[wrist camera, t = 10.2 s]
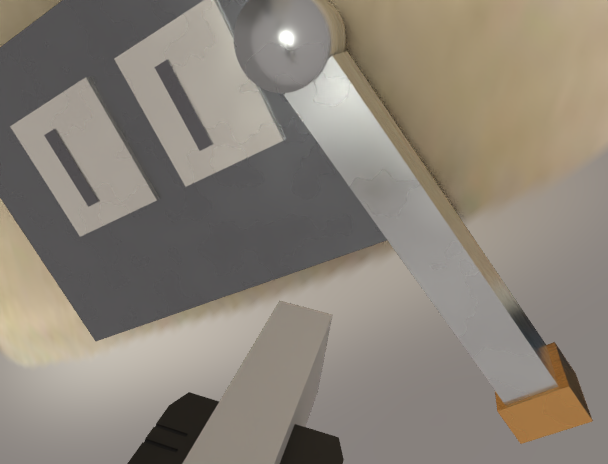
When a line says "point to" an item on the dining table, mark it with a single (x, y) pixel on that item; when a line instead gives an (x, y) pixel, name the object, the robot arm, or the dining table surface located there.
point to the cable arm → (408, 208)
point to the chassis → (160, 162)
